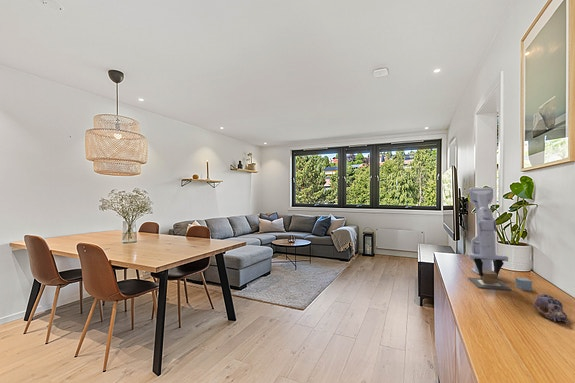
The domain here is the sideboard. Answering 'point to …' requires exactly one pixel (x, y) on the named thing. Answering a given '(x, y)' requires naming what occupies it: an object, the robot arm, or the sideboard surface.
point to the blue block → (523, 284)
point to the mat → (489, 284)
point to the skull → (550, 307)
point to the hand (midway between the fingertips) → (488, 276)
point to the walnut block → (489, 277)
